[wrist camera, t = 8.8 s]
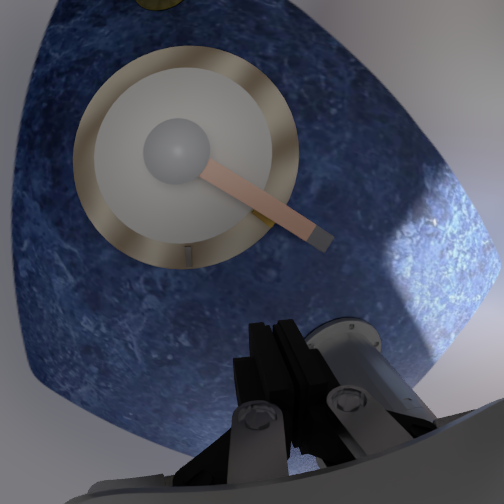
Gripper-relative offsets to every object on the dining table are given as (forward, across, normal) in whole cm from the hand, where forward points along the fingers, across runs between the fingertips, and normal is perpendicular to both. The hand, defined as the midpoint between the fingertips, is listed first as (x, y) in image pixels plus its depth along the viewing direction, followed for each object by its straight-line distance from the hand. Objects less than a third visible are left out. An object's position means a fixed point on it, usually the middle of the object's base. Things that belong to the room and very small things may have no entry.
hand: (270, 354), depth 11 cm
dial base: (+20, +4, -9) cm, 22 cm away
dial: (+19, +1, -7) cm, 20 cm away
